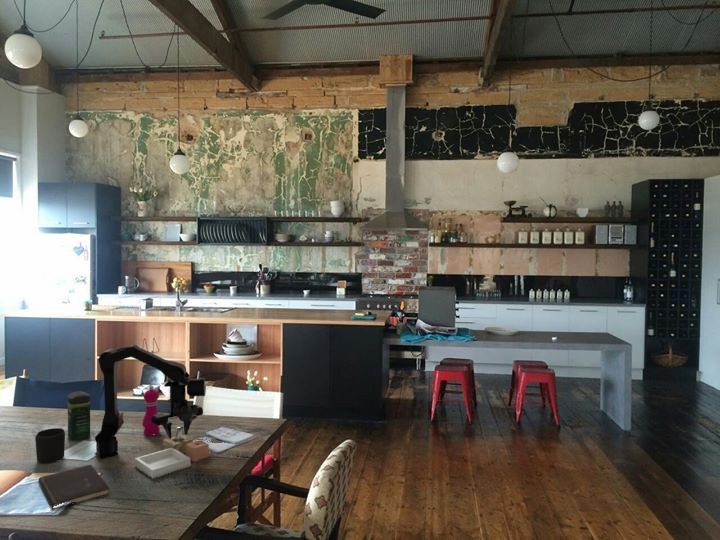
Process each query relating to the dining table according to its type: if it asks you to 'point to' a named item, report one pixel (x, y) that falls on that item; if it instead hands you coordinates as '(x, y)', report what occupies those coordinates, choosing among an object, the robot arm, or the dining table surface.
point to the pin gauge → (179, 434)
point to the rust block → (197, 450)
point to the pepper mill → (150, 411)
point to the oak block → (177, 443)
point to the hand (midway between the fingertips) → (177, 436)
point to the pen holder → (50, 445)
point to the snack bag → (226, 439)
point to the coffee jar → (78, 415)
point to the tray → (162, 462)
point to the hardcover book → (73, 485)
